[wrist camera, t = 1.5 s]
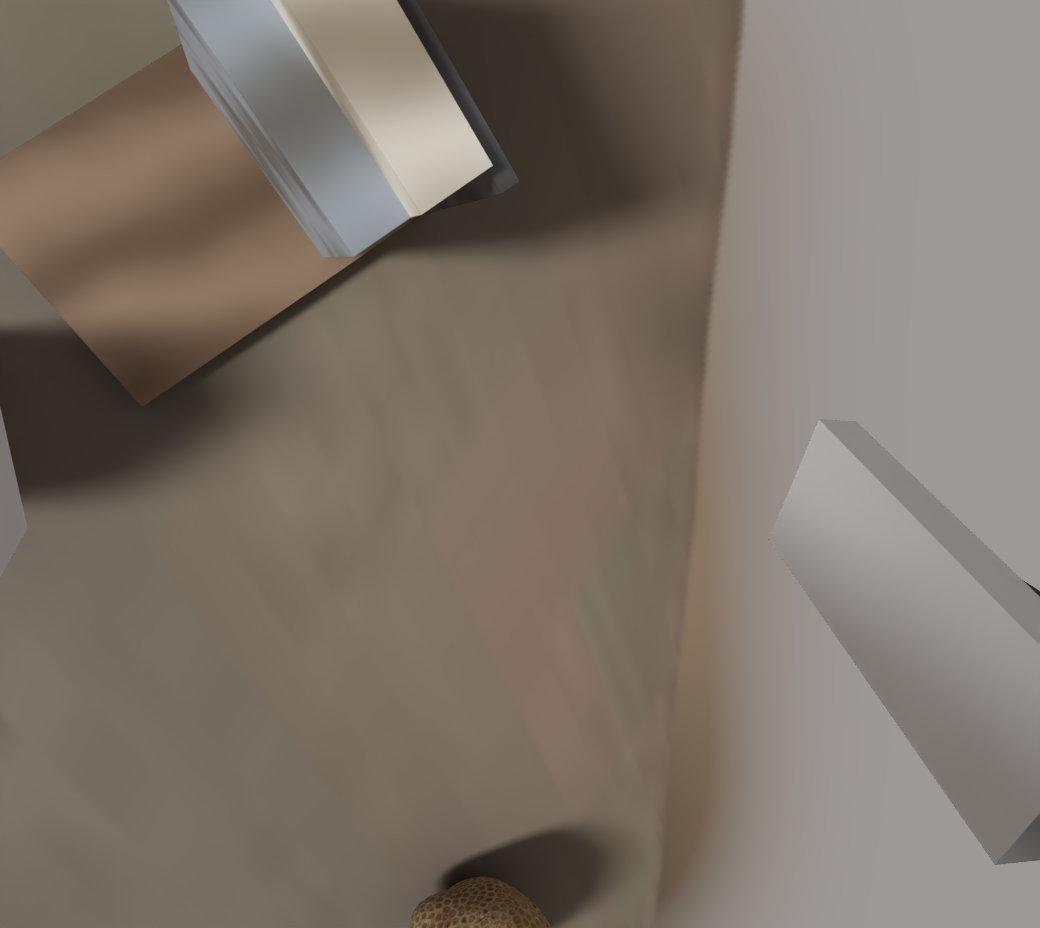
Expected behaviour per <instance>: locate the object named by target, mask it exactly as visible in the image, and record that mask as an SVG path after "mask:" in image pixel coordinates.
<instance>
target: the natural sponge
mask: <svg viewBox="0 0 1040 928" xmlns="http://www.w3.org/2000/svg"><path fill="white" fill-rule="evenodd" d="M410 928H551V926H550V924H549V922H548V921H547V919H546V917H545V916H544V914H543V913H542V911H541V910H540V909H539V908H538V907H537V906H536V904H535V903H533V902H532V901H531V900H530V899H529V898H528V897H526V896H525V895H524V894H522V893H521V892H520V891H518V890H517V889H515V888H514V887H512V886H510V885H509V884H507V883H505V882H503V881H501V880H498V879H495V878H491V877H475V878H470V879H466V880H463V881H460V882H458V883H457V884H455V885H453V886H452V887H450V888H449V889H447V890H445V891H442V892H440V893H437V894H435V895H432V896H430V897H428V898H427V899H425V900H424V901H422V902H421V903H420V904H419V905H418V906H417V907H416V909H415V911H414V912H413V914H412V917H411V923H410Z"/></svg>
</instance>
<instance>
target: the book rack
mask: <svg viewBox="0 0 1040 928" xmlns="http://www.w3.org/2000/svg"><path fill="white" fill-rule="evenodd" d="M168 3H169V6H170V9H171V12H172V15H173V19H174V22H175V25H176V28H177V31H178V34H179V37H180V40H181V43H182V44H181V45H180V46H178V47H177V48H175V49H174V50H172V51H170V52H169V53H167V54H166V55H164V56H162V57H161V58H159V59H158V60H156V61H154V62H153V63H151V64H150V65H148V66H147V67H145V68H143V69H142V70H140V71H139V72H137V73H135V74H134V75H132V76H131V77H129V78H127V79H126V80H124V81H123V82H121V83H120V84H118V85H116V86H115V87H113V88H112V89H110V90H108V91H107V92H105V93H104V94H102V95H100V96H99V97H97V98H96V99H94V100H93V101H91V102H89V103H88V104H86V105H85V106H83V107H81V108H80V109H78V110H77V111H75V112H73V113H72V114H70V115H69V116H67V117H65V118H64V119H62V120H61V121H59V122H58V123H56V124H54V125H53V126H51V127H50V128H48V129H46V130H45V131H43V132H42V133H40V134H38V135H37V136H35V137H34V138H32V139H31V140H29V141H27V142H26V143H24V144H23V145H21V146H19V147H18V148H16V149H15V150H13V151H11V152H10V153H8V154H7V155H5V156H4V157H2V158H0V248H1V249H2V250H3V251H4V252H5V253H6V255H7V256H8V257H9V258H10V259H11V260H12V261H13V263H14V264H15V265H16V266H17V267H18V268H19V269H20V270H21V272H22V273H23V274H24V275H25V276H26V277H27V278H28V279H29V281H30V282H31V283H32V284H33V285H34V286H35V287H36V288H37V290H38V291H39V292H40V293H41V294H42V295H43V296H44V297H45V299H46V300H47V301H48V302H49V303H50V304H51V305H52V306H53V308H54V309H55V310H56V311H57V312H58V313H59V314H60V315H61V317H62V318H63V319H64V320H65V321H66V322H67V323H68V325H69V326H70V327H71V328H72V329H73V330H74V331H75V332H76V334H77V335H78V336H79V337H80V338H81V339H82V340H83V341H84V343H85V344H86V345H87V346H88V347H89V348H90V349H91V350H92V352H93V353H94V354H95V355H96V356H97V357H98V358H99V359H100V361H101V362H102V363H103V364H104V365H105V366H106V367H107V368H108V370H109V371H110V372H111V373H112V374H113V375H114V376H115V378H116V379H117V380H118V381H119V382H120V383H121V384H122V385H123V387H124V388H125V389H126V390H127V391H128V392H129V393H130V394H131V396H132V397H133V398H134V399H135V400H136V401H137V402H138V403H139V405H140V406H141V407H143V406H145V405H146V404H148V403H149V402H151V401H152V400H153V399H155V398H156V397H158V396H159V395H161V394H162V393H164V392H165V391H167V390H168V389H169V388H171V387H172V386H174V385H175V384H177V383H178V382H180V381H181V380H182V379H184V378H185V377H187V376H188V375H190V374H191V373H193V372H194V371H196V370H197V369H198V368H200V367H201V366H203V365H204V364H206V363H207V362H209V361H210V360H212V359H213V358H214V357H216V356H217V355H219V354H220V353H222V352H223V351H225V350H226V349H227V348H229V347H230V346H232V345H233V344H235V343H236V342H238V341H239V340H241V339H242V338H243V337H245V336H246V335H248V334H249V333H251V332H252V331H254V330H255V329H256V328H258V327H259V326H261V325H262V324H264V323H265V322H267V321H268V320H270V319H271V318H272V317H274V316H275V315H277V314H278V313H280V312H281V311H283V310H284V309H285V308H287V307H288V306H290V305H291V304H293V303H294V302H296V301H297V300H299V299H300V298H301V297H303V296H304V295H306V294H307V293H309V292H310V291H312V290H313V289H315V288H316V287H317V286H319V285H320V284H322V283H323V282H325V281H326V280H328V279H329V278H330V277H332V276H333V275H335V274H336V273H338V272H339V271H341V270H342V269H344V268H345V267H346V266H348V265H349V264H351V263H352V262H354V261H355V260H357V259H358V258H359V257H361V256H362V255H364V254H365V253H367V252H368V251H370V250H371V249H373V248H374V247H375V246H377V245H378V244H380V243H381V242H383V241H384V240H386V239H387V238H388V237H390V236H391V235H393V234H394V233H396V232H397V231H399V230H400V229H402V228H403V227H404V226H406V225H407V224H409V223H410V222H412V221H413V220H415V219H416V218H418V217H419V216H420V215H422V214H426V213H430V212H434V211H437V210H441V209H445V208H449V207H453V206H456V205H460V204H464V203H468V202H472V201H475V200H479V199H483V198H487V197H491V196H494V195H498V194H502V193H503V192H505V191H506V190H508V189H509V188H511V187H512V186H513V185H515V184H516V183H518V182H519V179H518V177H517V175H516V174H515V172H514V170H513V168H512V167H511V165H510V163H509V161H508V160H507V158H506V156H505V154H504V153H503V151H502V149H501V147H500V146H499V144H498V142H497V140H496V139H495V137H494V135H493V133H492V132H491V130H490V128H489V126H488V125H487V123H486V121H485V119H484V118H483V116H482V114H481V112H480V111H479V109H478V107H477V105H476V104H475V102H474V100H473V98H472V97H471V95H470V93H469V91H468V90H467V88H466V86H465V84H464V83H463V81H462V79H461V77H460V76H459V74H458V72H457V70H456V69H455V67H454V65H453V63H452V62H451V60H450V58H449V56H448V55H447V53H446V51H445V49H444V48H443V46H442V44H441V43H440V41H439V39H438V37H437V36H436V34H435V32H434V30H433V29H432V27H431V25H430V23H429V22H428V20H427V18H426V16H425V15H424V13H423V11H422V9H421V8H420V6H419V4H418V2H417V1H416V0H168Z"/></svg>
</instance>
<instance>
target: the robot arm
mask: <svg viewBox="0 0 1040 928" xmlns="http://www.w3.org/2000/svg"><path fill="white" fill-rule="evenodd" d="M26 530H27V524H26V520H25V515H24V511H23V506H22V502H21V497H20V493H19V488H18V484H17V479H16V475H15V470H14V466H13V462H12V457H11V453H10V448H9V444H8V439H7V435H6V430H5V426H4V421H3V417H2V412H1V408H0V578H1V576H2V574H3V572H4V570H5V569H6V567H7V565H8V563H9V561H10V559H11V558H12V556H13V554H14V552H15V550H16V549H17V547H18V545H19V543H20V541H21V540H22V538H23V536H24V534H25V532H26ZM769 541H770V542H771V544H772V545H773V546H774V548H775V549H776V551H777V552H778V554H779V555H780V557H781V558H782V559H783V560H784V562H785V564H786V565H787V567H788V568H789V569H790V571H791V572H792V574H793V575H794V577H795V578H796V580H797V581H798V582H799V584H800V585H801V587H802V588H803V589H804V591H805V592H806V594H807V595H808V597H809V598H810V600H811V601H812V602H813V604H814V605H815V607H816V608H817V610H818V611H819V612H820V614H821V615H822V617H823V618H824V620H825V621H826V623H827V624H828V625H829V627H830V628H831V630H832V631H833V633H834V634H835V635H836V637H837V638H838V640H839V641H840V642H841V644H842V646H843V647H844V648H845V650H846V651H847V653H848V654H849V656H850V657H851V658H852V660H853V661H854V663H855V664H856V666H857V667H858V668H859V670H860V671H861V673H862V674H863V676H864V677H865V678H866V680H867V682H868V683H869V684H870V686H871V687H872V689H873V690H874V691H875V693H876V694H877V696H878V697H879V699H880V700H881V702H882V703H883V705H884V706H885V707H886V709H887V710H888V712H889V713H890V714H891V716H892V717H893V719H894V720H895V722H896V723H897V725H898V726H899V727H900V729H901V730H902V732H903V733H904V735H905V736H906V737H907V739H908V740H909V742H910V743H911V744H912V746H913V748H914V749H915V750H916V752H917V753H918V755H919V756H920V758H921V759H922V760H923V762H924V763H925V765H926V766H927V768H928V769H929V771H930V772H931V773H932V775H933V776H934V778H935V779H936V781H937V782H938V784H939V785H940V786H941V788H942V789H943V791H944V792H945V794H946V795H947V796H948V798H949V799H950V801H951V802H952V804H953V805H954V807H955V808H956V809H957V811H958V812H959V814H960V815H961V817H962V818H963V819H964V820H965V822H966V824H967V825H968V827H969V828H970V829H971V831H972V832H973V834H974V835H975V837H976V838H977V839H978V841H979V842H980V844H981V845H982V847H983V848H984V850H985V851H986V852H987V854H988V855H989V857H990V858H991V860H992V861H993V863H994V864H995V865H997V864H1006V863H1017V862H1026V861H1036V860H1040V591H1039V590H1037V589H1036V588H1034V587H1033V586H1031V585H1029V584H1028V583H1026V582H1025V581H1023V580H1022V579H1021V578H1020V577H1018V575H1016V574H1015V573H1014V572H1013V571H1012V570H1011V569H1010V568H1009V567H1008V566H1007V565H1006V564H1005V563H1004V562H1003V561H1002V560H1000V558H999V557H998V556H996V555H995V554H994V553H993V552H992V551H991V550H990V549H989V548H988V547H987V546H986V545H985V544H984V543H983V542H982V541H981V540H980V539H979V538H978V537H977V536H976V535H975V534H973V533H972V532H971V531H970V530H969V529H968V528H967V527H966V526H965V525H964V524H963V523H962V522H961V521H960V520H959V519H958V518H957V517H956V516H955V515H954V514H952V513H951V512H950V511H949V510H948V509H947V508H946V507H945V506H944V505H943V504H942V503H941V502H940V501H939V500H937V498H936V497H935V496H934V495H933V494H931V493H930V492H929V491H928V490H927V489H926V488H925V487H924V486H923V485H922V484H921V483H920V482H919V481H918V480H917V479H916V478H915V477H914V476H913V475H912V474H911V473H910V472H908V471H907V470H906V469H905V468H904V467H903V466H902V465H901V464H900V463H899V462H898V461H897V460H896V459H895V458H894V457H893V456H892V455H891V454H890V453H889V452H888V451H886V450H885V449H884V448H883V447H882V446H881V445H880V444H879V443H878V442H877V441H876V440H875V439H874V438H873V437H872V436H871V435H870V434H868V432H867V431H865V430H864V429H863V428H862V427H861V426H860V425H859V424H858V423H857V422H854V421H837V420H819V421H818V424H817V426H816V428H815V431H814V433H813V436H812V438H811V440H810V442H809V445H808V447H807V449H806V452H805V455H804V457H803V459H802V461H801V464H800V466H799V469H798V471H797V473H796V476H795V478H794V481H793V483H792V485H791V488H790V490H789V493H788V495H787V497H786V499H785V502H784V504H783V507H782V509H781V511H780V514H779V516H778V518H777V521H776V523H775V526H774V528H773V530H772V533H771V535H770V538H769Z"/></svg>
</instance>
